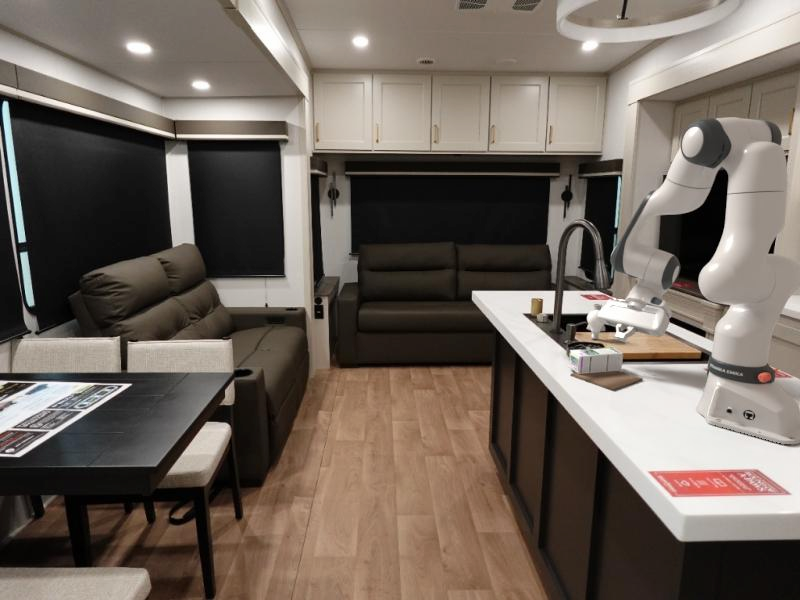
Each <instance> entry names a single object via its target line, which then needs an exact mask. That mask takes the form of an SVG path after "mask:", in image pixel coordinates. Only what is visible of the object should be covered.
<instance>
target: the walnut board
mask: <svg viewBox="0 0 800 600" xmlns="http://www.w3.org/2000/svg"><path fill="white" fill-rule="evenodd" d="M570 377H574V378H576V379H579V380H581V381H585V382H587V383H590V384H592V385H595V386H599V387H601V388H604V389H606V390H609V391H612V392H615V391H617V390H621V389H622V388H626V387H628V386H631V385H635V384H637V383H639V382H642V381H643V378H642V377H640V376H637V375H633V374H629V373H627V372H624V371H622V370H621V371H611V372H599V373H586V374H578V373H576V372H575V371H574V372H572V373H570Z"/></svg>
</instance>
